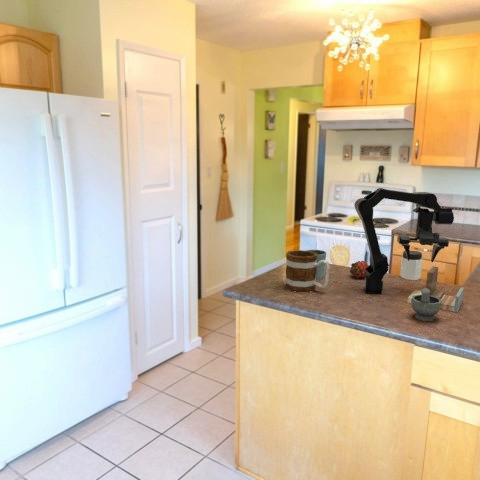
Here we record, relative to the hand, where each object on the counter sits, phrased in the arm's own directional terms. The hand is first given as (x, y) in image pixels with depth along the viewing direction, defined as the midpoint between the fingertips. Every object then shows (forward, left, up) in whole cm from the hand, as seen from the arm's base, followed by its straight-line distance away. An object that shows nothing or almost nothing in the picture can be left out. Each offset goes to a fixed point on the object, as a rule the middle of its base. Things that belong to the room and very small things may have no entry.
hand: (420, 261), depth 177 cm
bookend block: (+3, -13, -11) cm, 17 cm away
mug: (-45, -5, -13) cm, 47 cm away
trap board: (+3, -13, -13) cm, 18 cm away
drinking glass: (-42, +14, -13) cm, 47 cm away
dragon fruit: (-21, +18, -13) cm, 31 cm away
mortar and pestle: (-4, -30, -13) cm, 33 cm away
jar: (+2, +21, -13) cm, 25 cm away
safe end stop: (+11, -16, -13) cm, 24 cm away
